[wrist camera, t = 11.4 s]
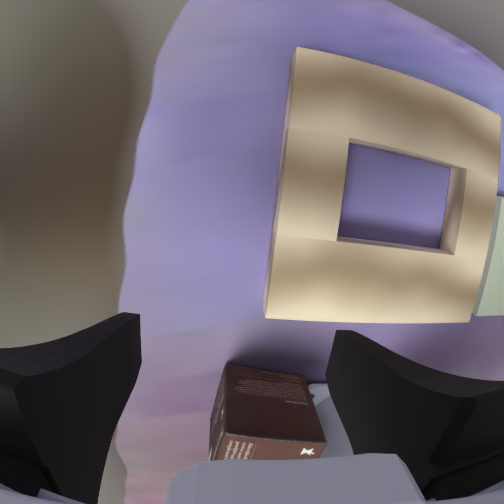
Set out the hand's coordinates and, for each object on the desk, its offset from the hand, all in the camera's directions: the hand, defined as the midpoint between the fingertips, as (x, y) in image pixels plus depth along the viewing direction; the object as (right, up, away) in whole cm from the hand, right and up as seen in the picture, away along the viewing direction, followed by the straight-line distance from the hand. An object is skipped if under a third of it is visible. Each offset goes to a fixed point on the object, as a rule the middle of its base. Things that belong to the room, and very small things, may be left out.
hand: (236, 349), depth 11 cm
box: (+1, -8, +12) cm, 14 cm away
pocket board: (+10, +7, +9) cm, 15 cm away
